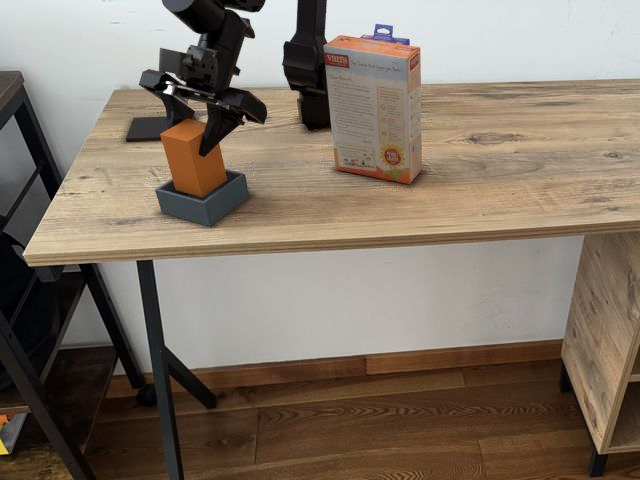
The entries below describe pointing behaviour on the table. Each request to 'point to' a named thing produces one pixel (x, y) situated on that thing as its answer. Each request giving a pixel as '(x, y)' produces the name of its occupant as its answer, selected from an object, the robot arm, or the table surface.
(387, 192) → the table surface
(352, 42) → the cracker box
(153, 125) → the mat
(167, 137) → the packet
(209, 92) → the robot arm
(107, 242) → the table surface
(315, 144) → the table surface
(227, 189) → the tote
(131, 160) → the table surface
